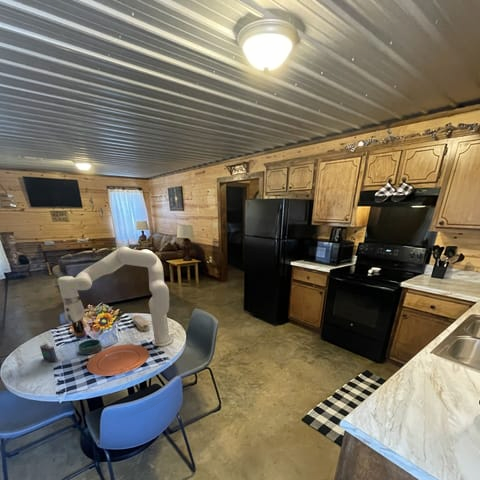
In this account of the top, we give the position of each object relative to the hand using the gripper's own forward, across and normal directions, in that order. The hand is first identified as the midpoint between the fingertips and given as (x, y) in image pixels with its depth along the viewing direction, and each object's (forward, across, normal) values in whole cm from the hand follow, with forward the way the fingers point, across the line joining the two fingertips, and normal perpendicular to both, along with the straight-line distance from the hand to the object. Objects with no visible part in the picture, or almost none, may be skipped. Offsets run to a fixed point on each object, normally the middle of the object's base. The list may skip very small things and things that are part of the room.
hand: (79, 330), depth 147 cm
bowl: (+19, +11, +3) cm, 22 cm away
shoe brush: (+16, +48, -14) cm, 53 cm away
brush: (+4, 0, 0) cm, 4 cm away
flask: (+19, -1, +21) cm, 28 cm away
